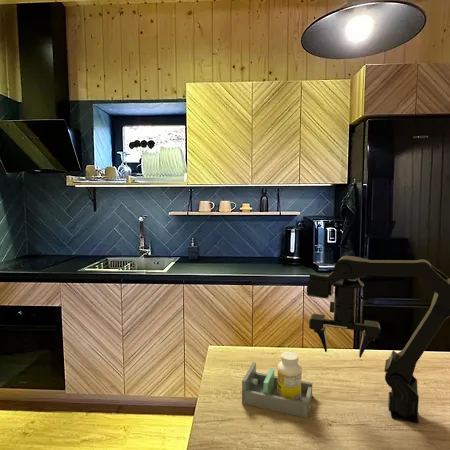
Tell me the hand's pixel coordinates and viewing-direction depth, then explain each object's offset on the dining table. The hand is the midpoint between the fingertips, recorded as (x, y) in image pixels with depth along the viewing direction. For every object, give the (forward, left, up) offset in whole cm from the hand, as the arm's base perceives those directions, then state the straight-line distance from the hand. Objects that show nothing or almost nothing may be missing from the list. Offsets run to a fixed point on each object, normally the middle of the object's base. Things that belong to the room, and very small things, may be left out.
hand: (342, 354), depth 101 cm
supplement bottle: (+14, +7, -12) cm, 20 cm away
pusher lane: (+17, +8, -13) cm, 23 cm away
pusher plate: (+20, +8, -12) cm, 24 cm away
